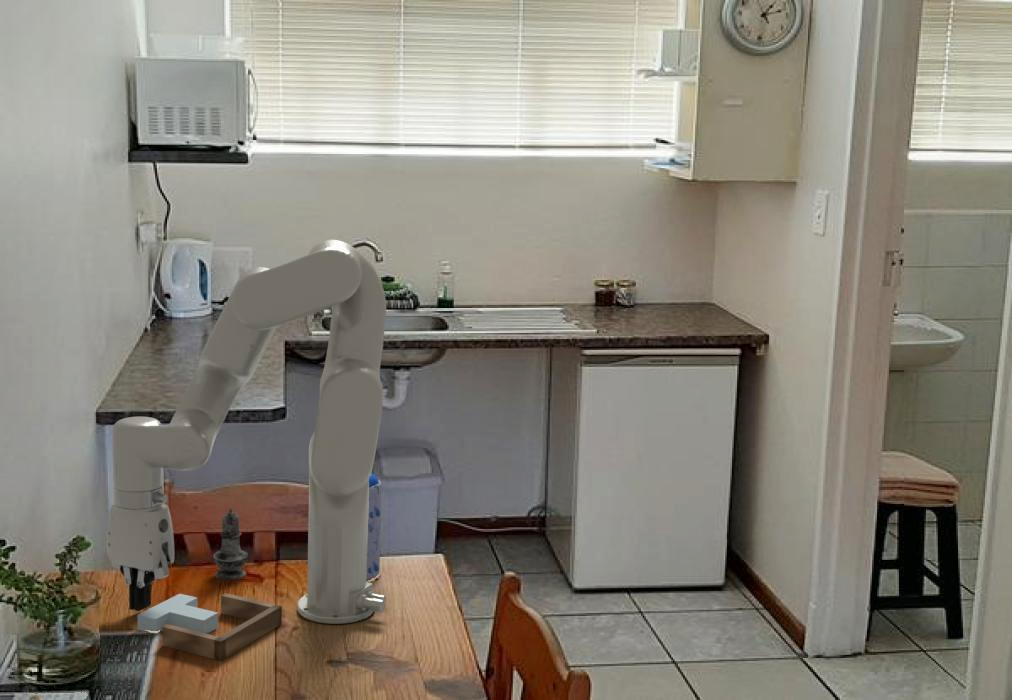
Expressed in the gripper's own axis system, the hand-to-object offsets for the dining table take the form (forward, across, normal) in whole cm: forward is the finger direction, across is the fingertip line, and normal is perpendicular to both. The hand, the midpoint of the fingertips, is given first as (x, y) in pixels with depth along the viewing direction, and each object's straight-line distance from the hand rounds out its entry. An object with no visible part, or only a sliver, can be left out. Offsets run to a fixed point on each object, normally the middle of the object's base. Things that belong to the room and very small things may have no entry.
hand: (140, 607), depth 195 cm
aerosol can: (+1, -21, -32) cm, 38 cm away
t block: (+1, -9, 0) cm, 9 cm away
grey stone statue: (+1, -2, -21) cm, 21 cm away
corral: (+1, -16, 0) cm, 16 cm away
